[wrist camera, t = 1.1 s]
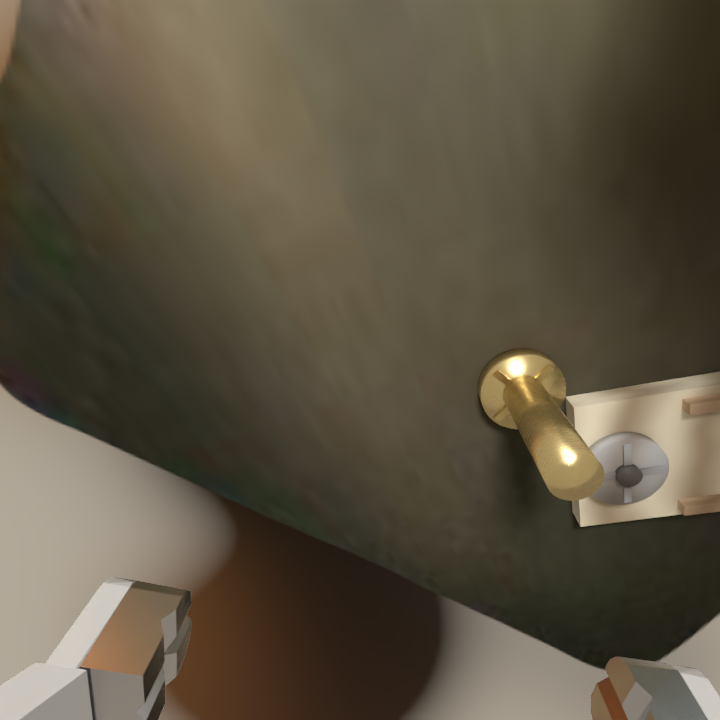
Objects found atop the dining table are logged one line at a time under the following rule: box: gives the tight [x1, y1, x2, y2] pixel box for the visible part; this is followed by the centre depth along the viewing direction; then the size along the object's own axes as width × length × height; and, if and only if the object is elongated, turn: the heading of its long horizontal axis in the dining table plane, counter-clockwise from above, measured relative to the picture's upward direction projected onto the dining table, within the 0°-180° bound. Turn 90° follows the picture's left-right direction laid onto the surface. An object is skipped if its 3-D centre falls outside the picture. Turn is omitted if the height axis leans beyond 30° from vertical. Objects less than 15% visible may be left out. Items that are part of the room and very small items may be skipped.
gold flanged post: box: [478, 348, 604, 501], centre depth 33 cm, size 7×7×13 cm
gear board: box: [565, 371, 720, 527], centre depth 38 cm, size 22×13×4 cm, turn 103°
